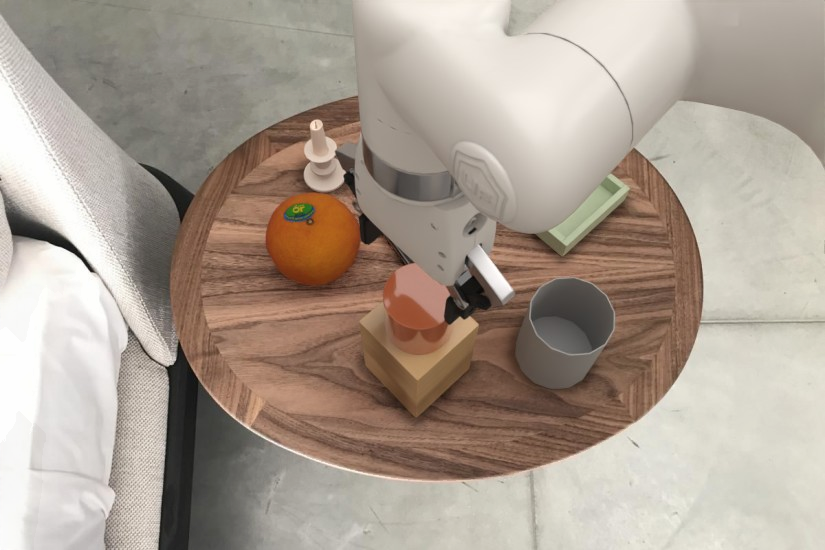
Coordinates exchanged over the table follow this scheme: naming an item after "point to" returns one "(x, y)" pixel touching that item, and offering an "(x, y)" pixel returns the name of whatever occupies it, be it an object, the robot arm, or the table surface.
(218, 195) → the table surface
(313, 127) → the candle
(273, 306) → the table surface
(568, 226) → the tray
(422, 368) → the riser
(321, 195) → the fruit
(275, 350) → the table surface
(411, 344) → the orange cylinder puck
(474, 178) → the robot arm
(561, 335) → the cup
